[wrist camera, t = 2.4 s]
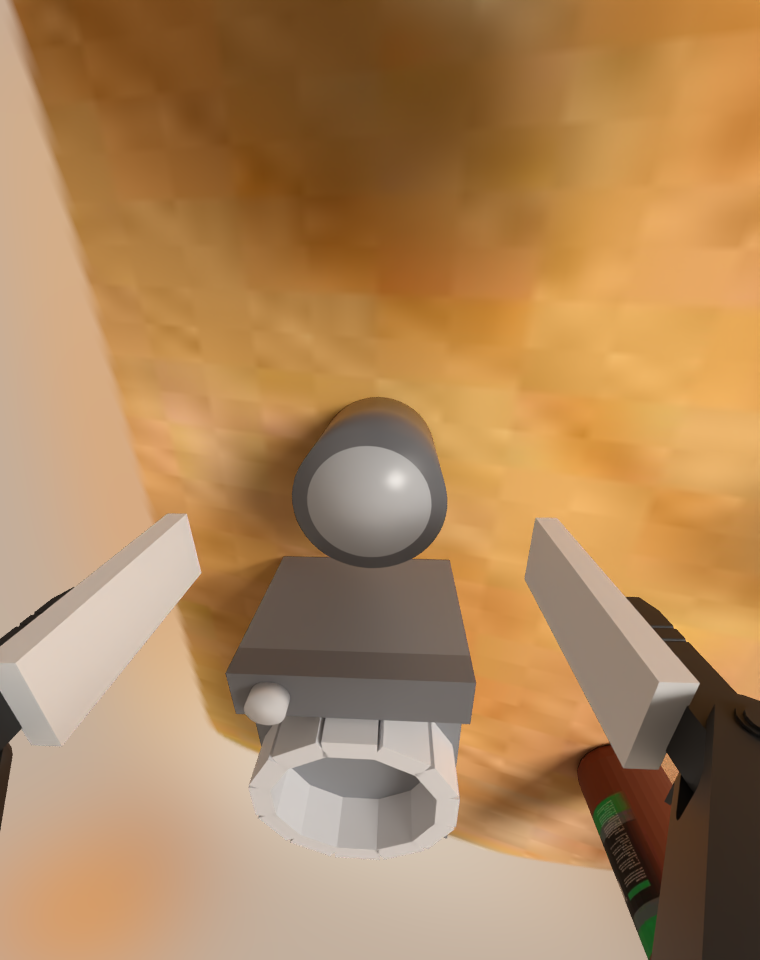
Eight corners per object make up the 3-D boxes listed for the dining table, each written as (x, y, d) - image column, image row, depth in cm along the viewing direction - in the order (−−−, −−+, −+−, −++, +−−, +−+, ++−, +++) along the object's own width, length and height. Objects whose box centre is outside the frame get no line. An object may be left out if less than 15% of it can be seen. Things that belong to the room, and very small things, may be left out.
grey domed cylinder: (319, 396, 21) (283, 429, 15) (437, 397, 21) (453, 430, 14) (327, 501, 24) (299, 566, 18) (431, 503, 24) (442, 571, 17)
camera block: (283, 556, 26) (215, 692, 16) (449, 560, 25) (480, 703, 16) (306, 716, 33) (268, 877, 23) (436, 722, 32) (451, 889, 23)
